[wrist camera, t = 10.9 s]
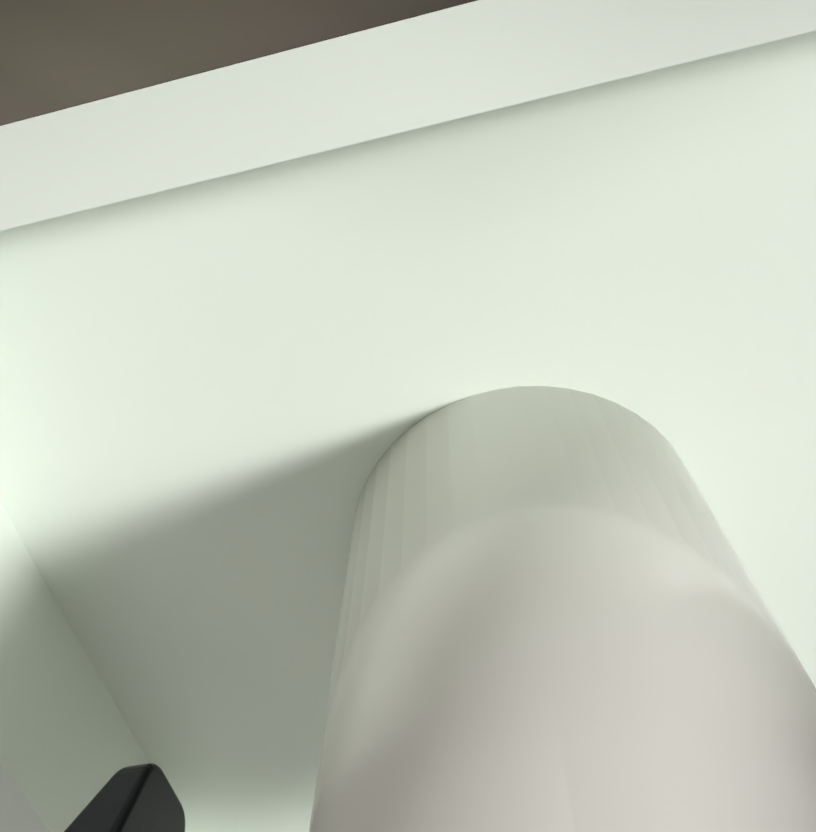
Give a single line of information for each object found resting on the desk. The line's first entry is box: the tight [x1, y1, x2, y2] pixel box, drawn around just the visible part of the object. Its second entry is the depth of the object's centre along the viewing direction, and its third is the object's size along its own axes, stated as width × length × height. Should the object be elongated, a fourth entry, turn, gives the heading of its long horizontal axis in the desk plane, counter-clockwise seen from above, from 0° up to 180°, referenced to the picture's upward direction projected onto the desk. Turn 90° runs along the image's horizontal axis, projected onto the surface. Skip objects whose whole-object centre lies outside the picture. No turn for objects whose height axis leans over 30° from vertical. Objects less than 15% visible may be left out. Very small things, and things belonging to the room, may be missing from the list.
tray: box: [0, 0, 816, 832], centre depth 10 cm, size 16×14×3 cm
